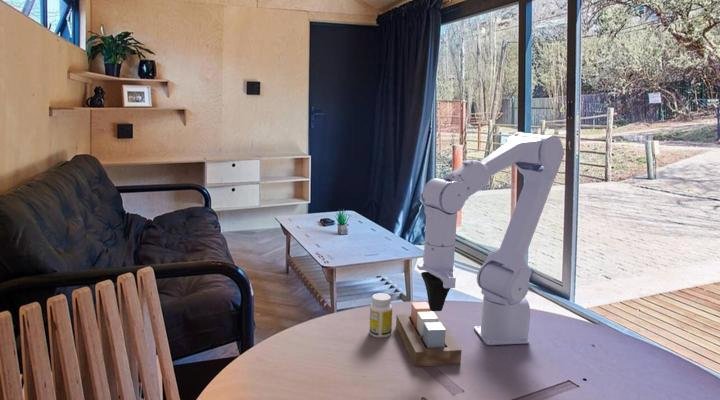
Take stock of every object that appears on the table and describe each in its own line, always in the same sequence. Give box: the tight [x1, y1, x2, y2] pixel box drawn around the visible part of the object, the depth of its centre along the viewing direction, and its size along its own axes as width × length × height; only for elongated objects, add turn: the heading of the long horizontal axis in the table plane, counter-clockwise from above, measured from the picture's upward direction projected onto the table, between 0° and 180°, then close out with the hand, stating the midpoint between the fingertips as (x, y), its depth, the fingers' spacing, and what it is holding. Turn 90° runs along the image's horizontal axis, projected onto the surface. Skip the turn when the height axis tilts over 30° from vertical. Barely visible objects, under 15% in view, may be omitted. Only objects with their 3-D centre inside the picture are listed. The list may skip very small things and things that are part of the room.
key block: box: [395, 312, 462, 368], centre depth 107 cm, size 9×17×3 cm, turn 9°
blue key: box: [423, 322, 446, 348], centre depth 102 cm, size 3×3×4 cm
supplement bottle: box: [369, 292, 393, 338], centre depth 111 cm, size 5×5×8 cm
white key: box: [417, 311, 438, 336], centre depth 107 cm, size 3×3×4 cm
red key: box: [410, 301, 432, 325], centre depth 112 cm, size 3×3×4 cm
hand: (435, 309), depth 101 cm, fingers closed
